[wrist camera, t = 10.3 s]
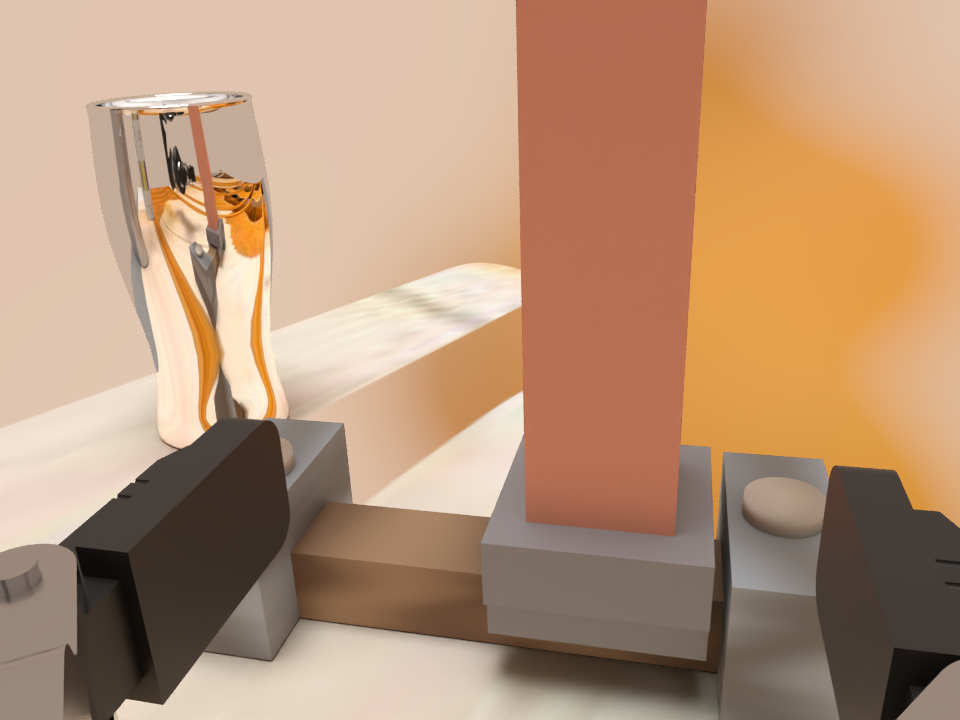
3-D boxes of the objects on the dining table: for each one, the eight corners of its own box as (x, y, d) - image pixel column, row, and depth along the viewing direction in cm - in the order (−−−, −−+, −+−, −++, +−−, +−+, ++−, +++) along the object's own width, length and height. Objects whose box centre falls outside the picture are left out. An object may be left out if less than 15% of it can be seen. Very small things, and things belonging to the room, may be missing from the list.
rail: (182, 647, 26) (152, 506, 24) (282, 522, 32) (264, 402, 30) (839, 743, 22) (866, 580, 20) (807, 578, 28) (825, 442, 26)
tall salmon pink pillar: (484, 642, 24) (455, -40, 17) (525, 517, 29) (515, -29, 23) (706, 671, 22) (766, -58, 16) (704, 534, 28) (747, -41, 21)
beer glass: (328, 412, 41) (291, 92, 36) (210, 472, 36) (144, 110, 31) (237, 381, 45) (190, 89, 40) (119, 432, 40) (46, 104, 34)
